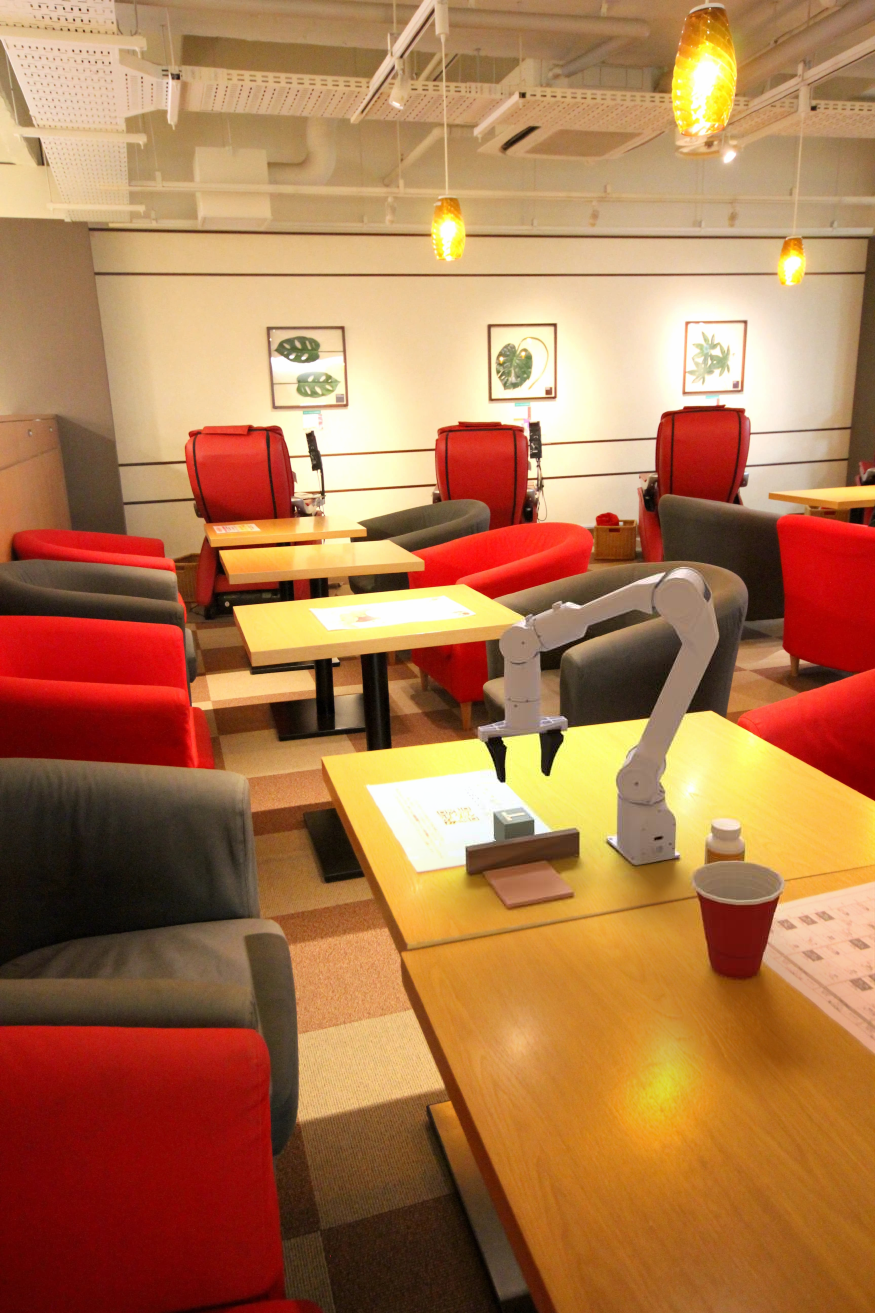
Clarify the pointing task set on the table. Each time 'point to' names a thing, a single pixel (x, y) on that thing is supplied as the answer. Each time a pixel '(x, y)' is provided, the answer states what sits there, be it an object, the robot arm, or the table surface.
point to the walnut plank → (522, 850)
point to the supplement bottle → (724, 842)
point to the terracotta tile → (527, 884)
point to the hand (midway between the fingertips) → (523, 777)
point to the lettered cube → (512, 824)
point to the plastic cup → (737, 913)
